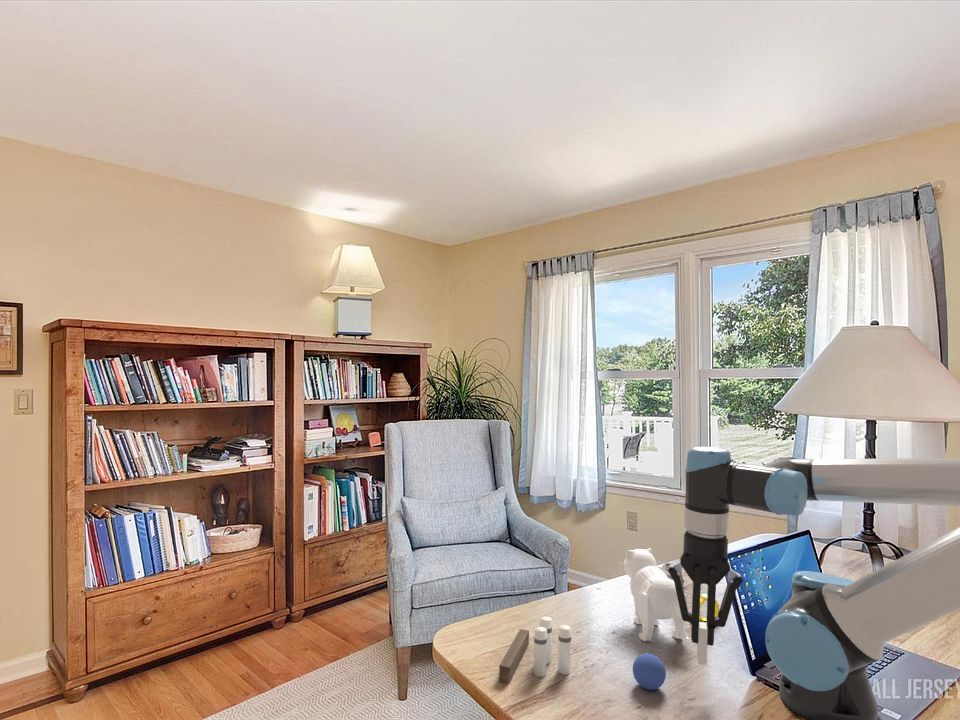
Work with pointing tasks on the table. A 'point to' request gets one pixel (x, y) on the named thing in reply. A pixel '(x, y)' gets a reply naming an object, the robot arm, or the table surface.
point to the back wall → (513, 656)
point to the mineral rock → (665, 570)
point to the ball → (649, 671)
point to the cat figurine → (652, 594)
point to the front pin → (564, 649)
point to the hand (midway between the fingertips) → (701, 660)
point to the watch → (704, 598)
